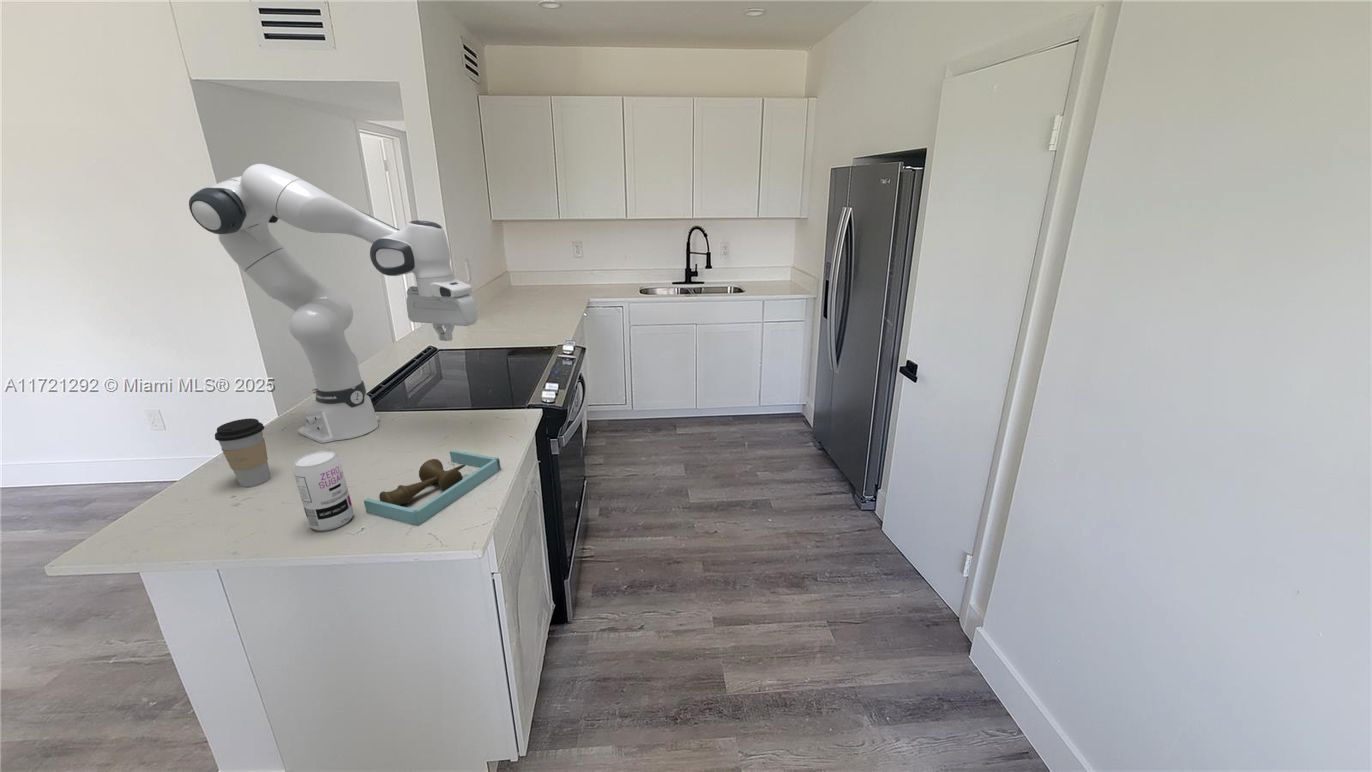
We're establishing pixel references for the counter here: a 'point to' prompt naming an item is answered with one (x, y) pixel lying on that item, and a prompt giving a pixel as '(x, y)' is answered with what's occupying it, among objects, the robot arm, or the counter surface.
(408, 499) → the kendama
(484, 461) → the open rectangular frame
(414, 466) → the counter surface
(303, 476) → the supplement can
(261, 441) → the coffee cup
